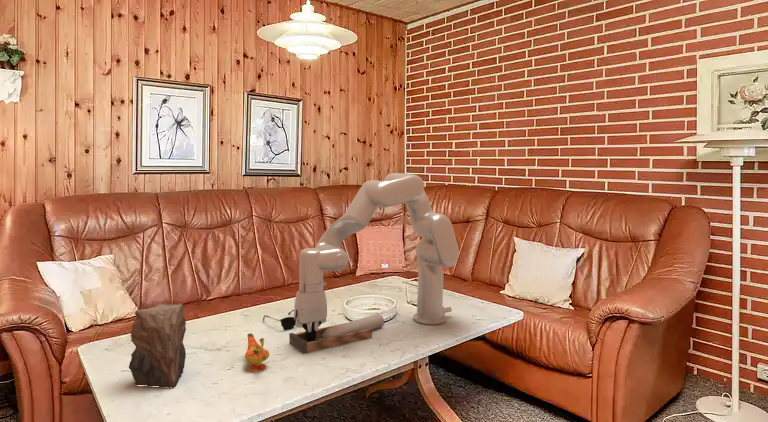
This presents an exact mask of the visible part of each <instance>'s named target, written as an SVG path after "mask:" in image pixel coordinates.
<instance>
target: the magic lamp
mask: <svg viewBox="0 0 768 422" xmlns="http://www.w3.org/2000/svg"><path fill="white" fill-rule="evenodd" d="M259 342H260V344H259V343H258V342H257V340H256V338H255V336H254V334H253V333H252V332H251V333H247V350H246V352H245V355H244V357H245V360H246V361H247V362H249V363H251V364H250V365H249V366H248V370H249V371H252V372H258V371H259V372H261V371H263V370H265V369H266V368H267V365H266V364H265V363H264V362H265V361H267V360H268V359H269V357H270V350H267V349H266V348H264V344H265V338H263V337H261V338H260V339H259Z"/></svg>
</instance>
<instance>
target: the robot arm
mask: <svg viewBox="0 0 768 422" xmlns="http://www.w3.org/2000/svg"><path fill="white" fill-rule="evenodd" d="M400 204H405V205H404V206H405V207H406V210H407V213H408V216H409V220H410V224H411V226H412V229H413V233H415V234H416V235H417V236H419V237H422V238H420V239H419V241H418V242H417V244H416V247H415V254H416V261H417V272H418V273H417V299H416V300H417V301H416V302H417V305H416V306H417V307H416V313H414V314H413V315H412V319H413V321H414V322H416V323H418V324H422V325H428V326H431V325H432V326H433V325H435V326H436V325H441V324H444V323H445V322H447V316H446V315H445V314H446V313H450V312H453V311H452V307H451V306H448V307H445V306H443V302H444V301H443V299H444V269H443V267H444V268H451V267H453V266H454V265H456V264H457V262H458V259H459V257H460V249H459V245H458V241H457V238H456V234H455V230H454V226H453V224H452V221H451V220H450V218H449V217H448V216H447V215H445V214H443V213H439V212H434V211H433V208H432V205H431V202H430V200H429V197H428V195H427V193H426V191H425V182H424V180H423V179H422V177H421V176H419V175H418V174H413V173H403V172H402V173H400V172H392V173H389V174H387V175H386V176H385V177H384V179H383V180H377V179H371V180H367V181H365V182H364V183H363V184H362V185H361V187H360V188H359V190H358V191H357V193H356V194H355V196H354V197H353V199H352V202H350V204H349V206H348V208H347V209H346V211H345V212H344V213H343V215H342V216H340V217H339V218H337V220H335V222H333V223H332V224H331V225H330V226H329V227H328V228H327V229H326V230H325V231H324V232H323V234H322V235H321V236H320V238H319V240H318V242H317V243H316V245H315V246H314V247H306V248H303V249H301V250H300V252H299V255H298V256H299V257H298V258H299V259H298V260H299V262H298V265H299V266H298V267H299V271H298V272H299V273H298V274H299V277H298V278H299V283H298V285H299V286H298V287H299V289H298V290H297V291H296V295H295V300H294V306H293V307H294V309H293V310H294V311H293V317H294V320H296V323H295V326H294V327H297V328H301V329H304V330H305V331H306V340H307V342H312V341H316V331H317V330H318V329H319V327H320V326H321V325H322V324H324V323H326V322H328V321H327V317H328V303H327V302H328V301H327V296H326V291H325V289H324V286H325V287H326V286H327V282H326V281H325V280H324V271H329V272H336V271H337V272H338V271H341V270H343V269H345V268H346V267H347V266H348V264H349V261H350V260H349V254H348V253H347V252H346V251H345V250H344V249H343V248H340V247H339V246H340V244H341V243H342V242H343V241H344V240H345V239H347V238H348V237H349V236H351V235H354V234H356V233H359V232H361V231H363V230H364V229H366V228H367V226H368V225H369V223H370V221H371V220H372V218H373V216H374V214H375V213H376V212H377V210H378V208H379V207H382V208H383V207H384V208H388V207H393V206H394V207H395V206H397V205H400Z"/></svg>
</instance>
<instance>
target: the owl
mask: <svg viewBox="0 0 768 422" xmlns="http://www.w3.org/2000/svg"><path fill="white" fill-rule="evenodd" d="M184 311H185V306H184V303H183V302H180V303H159V304H157V305H155V306H151V307H149V308H140V309H136V310H135V311H134V315H135V316H136V319H135V320H134V322H133V324H132V326H131V331H130V332H131V333H130V338H131V339H130V341H131V342H132V344H133V345H134V346H135V348H134V350H133V351H132V353H131V360H130V362H129V364H128V368H129V370H130V373H131V375H132V377H133V380H134V382H135V383H134V385H135V384H136V385H147V386H159V387H172V388H171V389H175V388H174V387H176V388H177V385H178V383H179V382H178V381H179V380H180V379H181V378H180V377H182V375H183V374H184V369H185V365H186V364H185V363H186V357H187V356H186V355H187V353H186V349H185V348H186V347H185V345H184V343H183V342H184V338H185V334H186V331H187V328H186V325H187V322H186V320H187V319H186V317H185V316H184V313H185V312H184ZM182 373H183V374H182ZM181 374H182V375H181ZM179 378H180V379H179ZM159 387H158V388H159Z"/></svg>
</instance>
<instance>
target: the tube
mask: <svg viewBox="0 0 768 422" xmlns="http://www.w3.org/2000/svg"><path fill="white" fill-rule="evenodd" d="M384 322H385V319H384V317H383V316H382V314H381V313H377V312H376V313H375V314H370V315H369V316H365V317H362V318H358V319H355V320H351V321H349V322H345V324H344V323H341V324H342V325H339V324H337V325H338V326H335V327H332V328H329V329H326V331H325V332H324V333H323V334H322V335H323V338H322V339H325V338H330V337H334V336H339V335H343V334H348V333H352V332H357V331H361V330H366V329H372V331H375V330H378V329H382V328H383V327H384V324H385V323H384Z"/></svg>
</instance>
